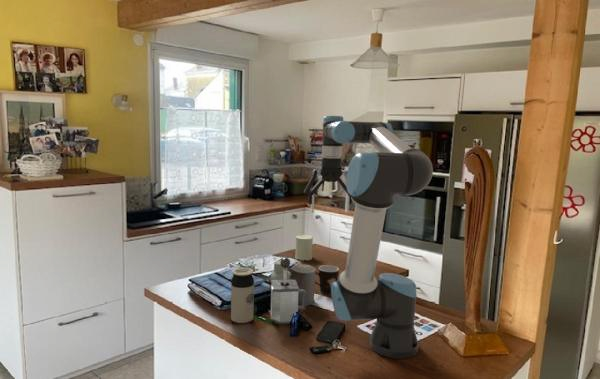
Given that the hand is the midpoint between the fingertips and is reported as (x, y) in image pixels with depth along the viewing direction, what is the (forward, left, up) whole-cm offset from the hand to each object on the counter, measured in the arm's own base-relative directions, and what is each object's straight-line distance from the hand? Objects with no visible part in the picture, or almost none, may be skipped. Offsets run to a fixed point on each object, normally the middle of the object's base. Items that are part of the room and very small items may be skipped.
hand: (329, 212), depth 164 cm
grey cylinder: (+3, +9, -37) cm, 38 cm away
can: (+59, 0, -37) cm, 70 cm away
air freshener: (+22, +16, -37) cm, 46 cm away
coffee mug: (+13, -2, -37) cm, 39 cm away
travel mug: (-11, +33, -37) cm, 51 cm away
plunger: (-12, +18, -32) cm, 39 cm away
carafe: (-12, +17, -37) cm, 42 cm away
